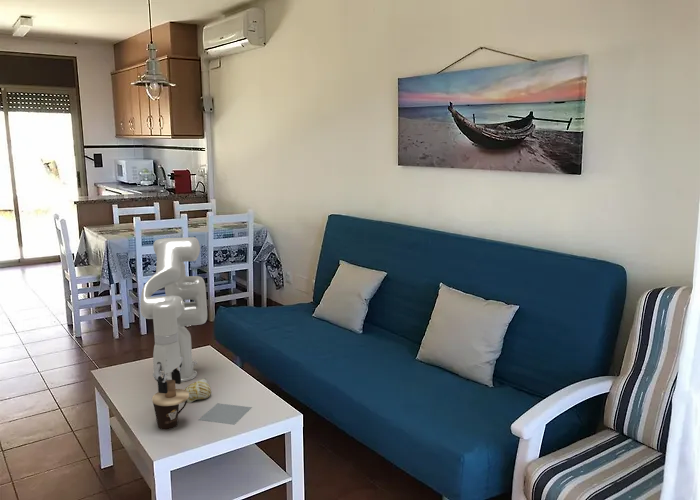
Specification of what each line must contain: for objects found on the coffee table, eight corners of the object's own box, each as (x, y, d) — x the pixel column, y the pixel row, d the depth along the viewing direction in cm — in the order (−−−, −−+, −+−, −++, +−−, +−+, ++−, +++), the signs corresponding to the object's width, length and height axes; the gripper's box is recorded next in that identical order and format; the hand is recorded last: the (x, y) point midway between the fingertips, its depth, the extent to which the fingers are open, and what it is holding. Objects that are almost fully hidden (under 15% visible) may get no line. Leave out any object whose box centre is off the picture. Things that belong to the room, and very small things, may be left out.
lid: (165, 389, 208) (164, 373, 207) (195, 393, 205) (194, 376, 204) (145, 404, 197) (143, 387, 196) (176, 407, 194) (175, 390, 192)
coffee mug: (156, 434, 196) (154, 406, 195) (153, 423, 204) (151, 396, 202) (191, 427, 201) (189, 400, 199) (187, 417, 209) (186, 390, 207)
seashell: (175, 402, 219) (180, 375, 222) (190, 404, 228) (194, 378, 231) (199, 404, 216) (203, 377, 219) (213, 406, 225) (216, 379, 228)
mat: (217, 404, 219) (217, 403, 219) (252, 408, 215) (252, 407, 215) (198, 421, 205) (198, 419, 205) (234, 426, 202) (234, 424, 202)
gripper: (171, 329, 206) (174, 377, 209) (141, 345, 190) (144, 397, 193) (190, 331, 204) (193, 379, 207) (161, 347, 188) (165, 399, 191)
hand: (169, 387), depth 200 cm, fingers open, 7 cm apart
